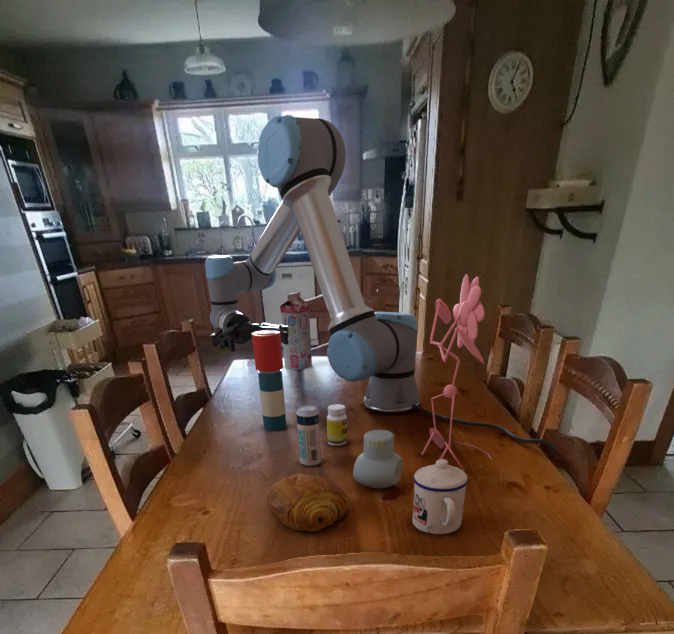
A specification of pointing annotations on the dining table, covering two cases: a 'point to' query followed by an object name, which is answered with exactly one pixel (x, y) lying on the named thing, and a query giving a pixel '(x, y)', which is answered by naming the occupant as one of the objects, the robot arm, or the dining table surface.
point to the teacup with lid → (439, 498)
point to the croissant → (307, 501)
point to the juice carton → (296, 332)
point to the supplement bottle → (336, 425)
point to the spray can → (272, 400)
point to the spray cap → (267, 350)
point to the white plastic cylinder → (308, 435)
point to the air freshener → (378, 461)
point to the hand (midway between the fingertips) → (260, 342)
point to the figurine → (467, 330)
